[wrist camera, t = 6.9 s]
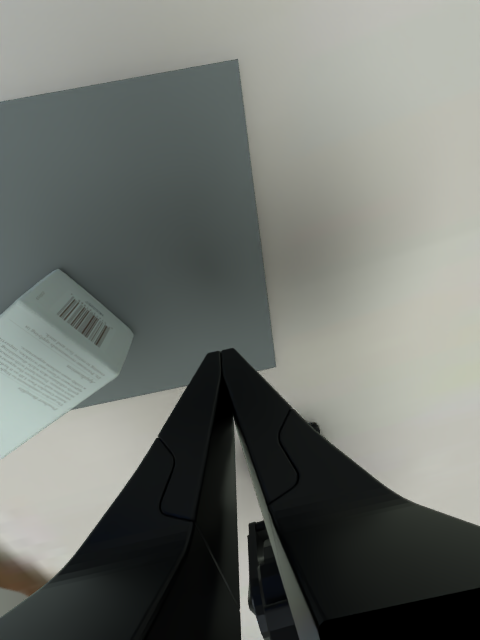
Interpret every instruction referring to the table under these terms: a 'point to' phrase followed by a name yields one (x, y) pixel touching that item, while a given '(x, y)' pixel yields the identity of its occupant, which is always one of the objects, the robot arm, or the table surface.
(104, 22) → the table surface
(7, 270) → the mat
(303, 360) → the table surface
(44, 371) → the skincare box
